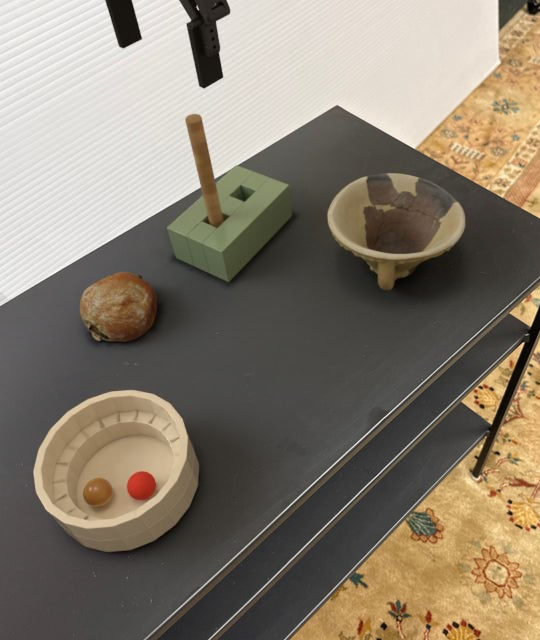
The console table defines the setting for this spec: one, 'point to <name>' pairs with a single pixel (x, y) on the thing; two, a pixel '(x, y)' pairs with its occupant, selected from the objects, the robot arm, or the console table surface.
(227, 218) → the holder
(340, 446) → the console table surface
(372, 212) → the bowl
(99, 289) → the bread roll
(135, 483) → the bead
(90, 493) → the bead
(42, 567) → the console table surface
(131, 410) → the mixing bowl
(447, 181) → the console table surface
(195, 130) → the stick
